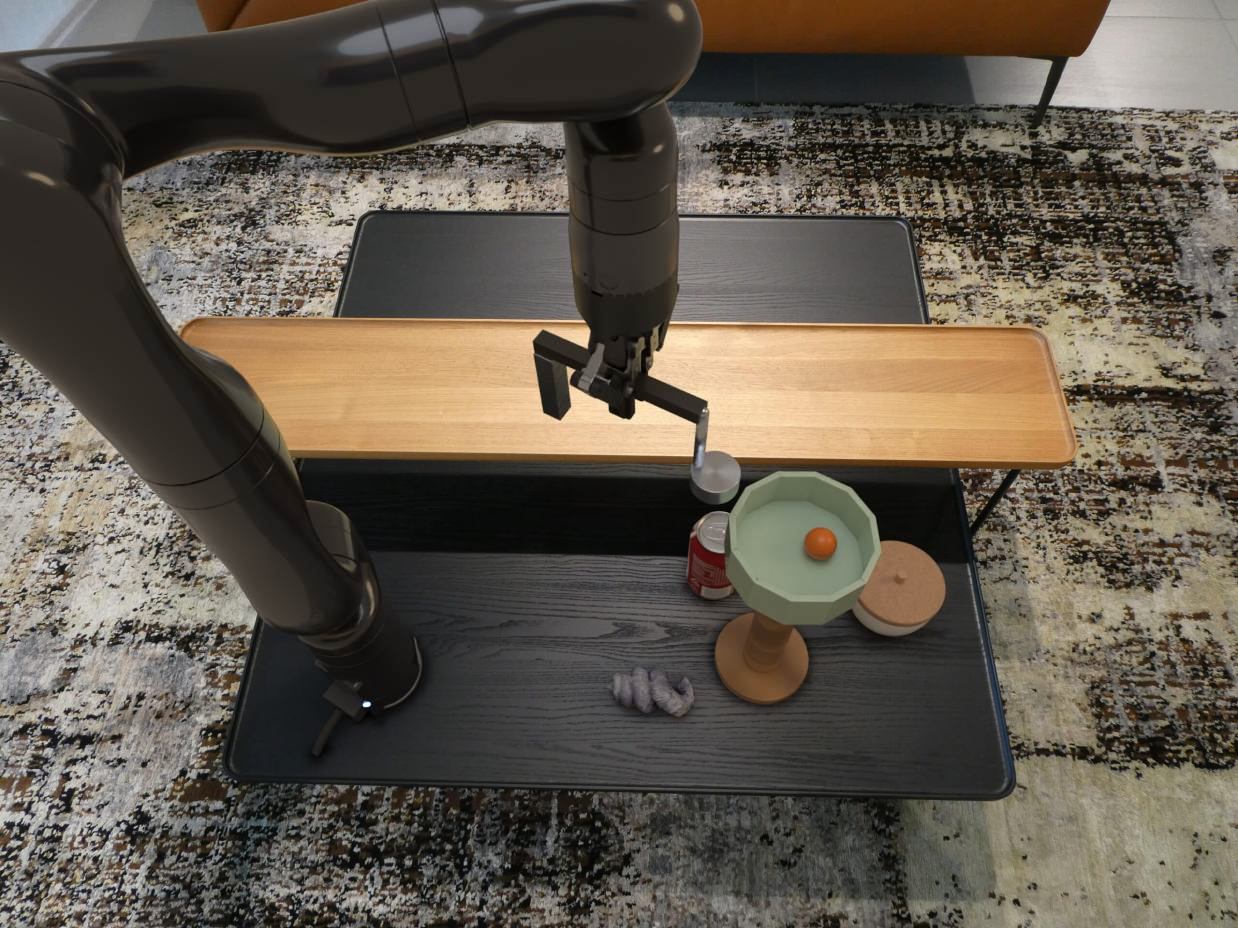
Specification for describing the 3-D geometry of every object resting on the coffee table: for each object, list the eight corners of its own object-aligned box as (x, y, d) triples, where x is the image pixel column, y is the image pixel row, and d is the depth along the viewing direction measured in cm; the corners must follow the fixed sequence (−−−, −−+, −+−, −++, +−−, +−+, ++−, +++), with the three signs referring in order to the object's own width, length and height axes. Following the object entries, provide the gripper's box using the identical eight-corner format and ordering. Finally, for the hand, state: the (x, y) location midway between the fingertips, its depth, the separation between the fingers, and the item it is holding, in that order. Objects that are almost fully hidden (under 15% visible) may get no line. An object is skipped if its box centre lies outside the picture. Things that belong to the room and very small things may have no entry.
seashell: (693, 699, 99) (609, 695, 100) (695, 660, 98) (609, 655, 98) (693, 727, 94) (604, 722, 95) (695, 685, 93) (605, 681, 93)
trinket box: (936, 589, 105) (960, 554, 98) (913, 663, 100) (936, 633, 92) (853, 556, 108) (870, 519, 100) (826, 626, 103) (842, 594, 95)
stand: (783, 721, 96) (826, 633, 75) (698, 674, 100) (716, 576, 78) (821, 643, 102) (872, 539, 80) (739, 600, 105) (767, 489, 83)
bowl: (832, 650, 74) (844, 628, 70) (700, 581, 78) (703, 556, 74) (887, 537, 80) (901, 510, 76) (762, 478, 84) (768, 449, 80)
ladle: (747, 475, 75) (759, 408, 67) (725, 512, 73) (735, 447, 65) (560, 390, 81) (551, 318, 73) (535, 422, 79) (522, 351, 71)
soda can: (735, 606, 104) (746, 562, 94) (681, 596, 105) (686, 552, 95) (742, 558, 108) (753, 511, 98) (690, 549, 109) (695, 502, 99)
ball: (826, 570, 78) (832, 555, 75) (796, 556, 79) (801, 540, 76) (838, 546, 79) (845, 530, 77) (809, 531, 80) (814, 515, 77)
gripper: (627, 179, 63) (630, 336, 77) (524, 295, 56) (549, 443, 71) (718, 211, 60) (703, 367, 75) (621, 336, 54) (626, 481, 68)
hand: (628, 404), depth 73 cm, fingers closed on ladle
